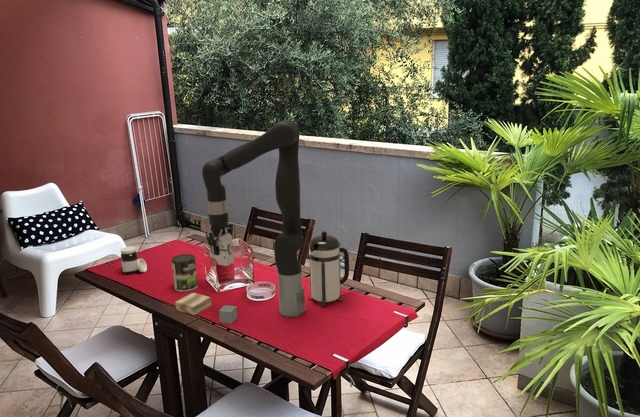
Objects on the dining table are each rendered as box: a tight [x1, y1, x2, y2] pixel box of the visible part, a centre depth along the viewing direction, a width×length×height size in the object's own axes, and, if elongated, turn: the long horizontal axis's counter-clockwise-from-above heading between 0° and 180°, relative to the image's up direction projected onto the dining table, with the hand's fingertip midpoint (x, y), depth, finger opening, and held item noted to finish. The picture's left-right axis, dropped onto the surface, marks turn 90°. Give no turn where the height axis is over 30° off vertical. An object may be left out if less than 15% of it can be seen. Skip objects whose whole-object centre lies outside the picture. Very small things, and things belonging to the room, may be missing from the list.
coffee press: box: [307, 231, 350, 308], centre depth 210 cm, size 17×16×30 cm
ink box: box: [208, 233, 235, 267], centre depth 202 cm, size 9×5×12 cm, turn 62°
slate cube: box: [218, 304, 238, 325], centre depth 197 cm, size 5×5×5 cm
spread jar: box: [120, 246, 148, 275], centre depth 249 cm, size 12×11×12 cm
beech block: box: [174, 292, 212, 316], centre depth 209 cm, size 10×10×4 cm
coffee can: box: [170, 253, 199, 293], centre depth 228 cm, size 10×10×14 cm
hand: (221, 252), depth 202 cm, fingers closed on ink box, 5 cm apart
